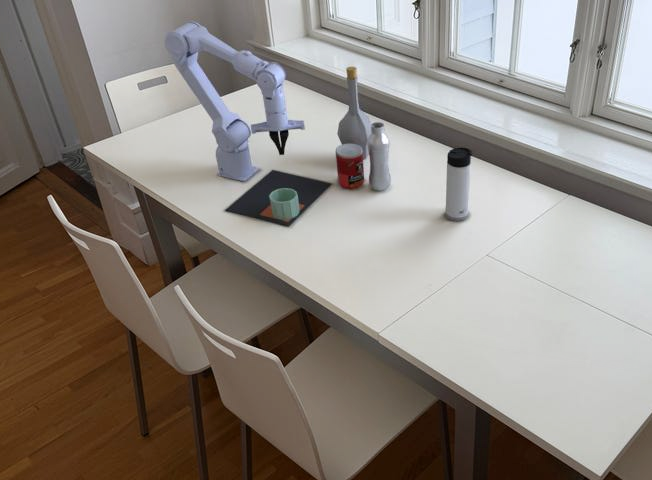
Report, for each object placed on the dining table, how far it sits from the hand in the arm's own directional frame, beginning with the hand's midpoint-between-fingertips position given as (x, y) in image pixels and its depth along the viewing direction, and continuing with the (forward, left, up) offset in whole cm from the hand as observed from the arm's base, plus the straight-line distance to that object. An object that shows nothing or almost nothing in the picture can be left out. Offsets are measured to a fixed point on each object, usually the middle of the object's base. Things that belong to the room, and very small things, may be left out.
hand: (281, 153), depth 191 cm
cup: (+9, -15, -9) cm, 20 cm away
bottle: (+14, +19, -10) cm, 26 cm away
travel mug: (+53, +3, -10) cm, 54 cm away
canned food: (+18, +7, -10) cm, 22 cm away
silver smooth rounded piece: (+27, +8, -10) cm, 30 cm away
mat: (+3, -8, -9) cm, 13 cm away
